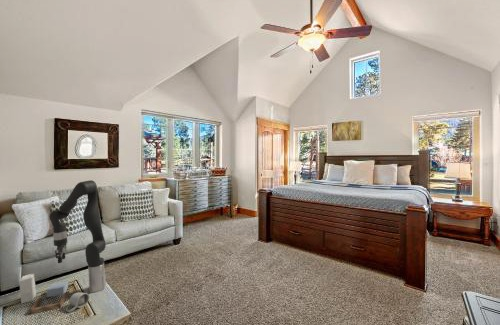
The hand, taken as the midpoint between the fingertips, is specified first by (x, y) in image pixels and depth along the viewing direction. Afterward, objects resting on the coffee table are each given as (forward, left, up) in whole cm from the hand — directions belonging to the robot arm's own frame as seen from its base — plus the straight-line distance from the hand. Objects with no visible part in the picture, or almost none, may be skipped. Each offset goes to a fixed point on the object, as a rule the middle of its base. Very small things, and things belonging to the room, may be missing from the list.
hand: (61, 260), depth 165 cm
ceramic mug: (-17, +33, -18) cm, 41 cm away
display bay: (0, +23, -18) cm, 29 cm away
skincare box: (+15, +11, -18) cm, 26 cm away
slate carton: (0, +10, -18) cm, 20 cm away
